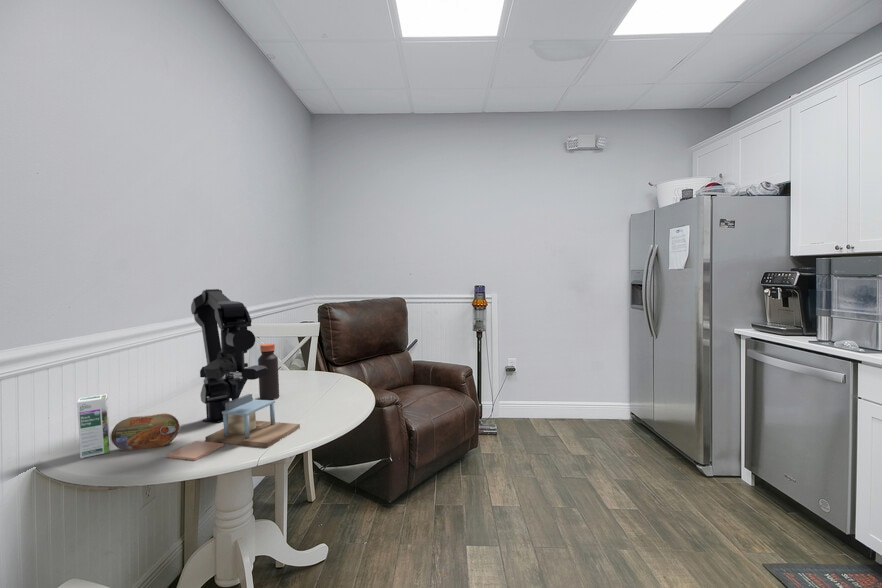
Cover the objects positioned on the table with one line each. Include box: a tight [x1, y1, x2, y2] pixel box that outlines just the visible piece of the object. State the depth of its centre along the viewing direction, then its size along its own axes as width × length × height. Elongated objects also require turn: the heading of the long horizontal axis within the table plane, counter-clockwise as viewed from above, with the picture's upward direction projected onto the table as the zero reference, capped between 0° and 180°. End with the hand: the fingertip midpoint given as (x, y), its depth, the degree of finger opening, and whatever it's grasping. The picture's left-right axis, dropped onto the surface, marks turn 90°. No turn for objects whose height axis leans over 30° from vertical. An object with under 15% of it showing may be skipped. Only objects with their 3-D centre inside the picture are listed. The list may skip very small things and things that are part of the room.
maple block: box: [228, 412, 257, 434], centre depth 116 cm, size 5×5×7 cm
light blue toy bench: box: [222, 393, 276, 438], centre depth 116 cm, size 8×12×9 cm
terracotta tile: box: [165, 440, 225, 461], centre depth 105 cm, size 9×9×1 cm
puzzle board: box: [204, 420, 301, 448], centre depth 115 cm, size 20×14×1 cm
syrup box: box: [76, 393, 111, 459], centre depth 106 cm, size 6×6×14 cm
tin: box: [110, 413, 180, 452], centre depth 109 cm, size 15×3×8 cm, turn 106°
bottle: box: [257, 343, 280, 401], centre depth 151 cm, size 7×7×20 cm
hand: (235, 401), depth 117 cm, fingers closed
